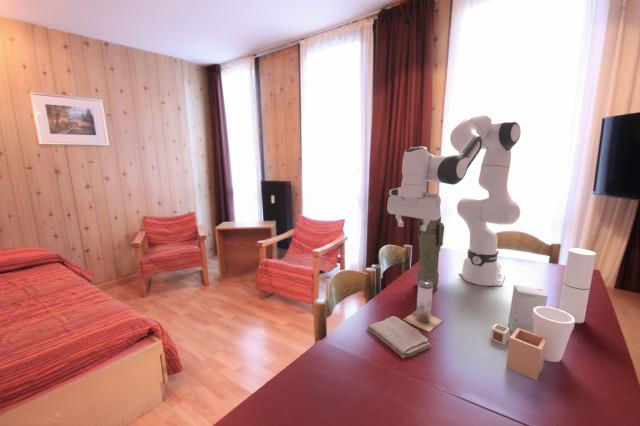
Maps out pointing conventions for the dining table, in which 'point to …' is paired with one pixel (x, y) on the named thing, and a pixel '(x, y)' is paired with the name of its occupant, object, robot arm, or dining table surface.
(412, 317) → the cork coaster
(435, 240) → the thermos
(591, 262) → the cylindrical container
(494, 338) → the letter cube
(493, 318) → the dining table surface
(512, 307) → the skincare box
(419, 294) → the tin canister
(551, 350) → the foam cup
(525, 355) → the terracotta planter
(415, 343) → the washcloth
